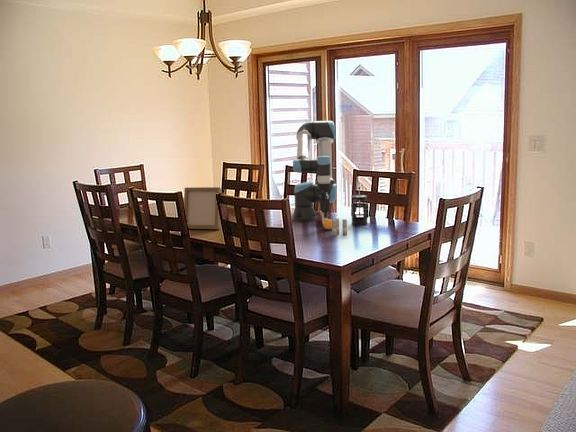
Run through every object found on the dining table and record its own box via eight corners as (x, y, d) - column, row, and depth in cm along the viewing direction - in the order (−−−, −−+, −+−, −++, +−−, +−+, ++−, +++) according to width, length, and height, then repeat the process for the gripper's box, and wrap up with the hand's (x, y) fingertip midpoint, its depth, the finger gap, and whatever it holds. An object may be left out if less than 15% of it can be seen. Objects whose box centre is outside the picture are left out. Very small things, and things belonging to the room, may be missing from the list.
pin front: (334, 233, 309) (333, 218, 307) (338, 233, 310) (337, 218, 308) (335, 234, 307) (335, 219, 305) (339, 234, 307) (339, 218, 306)
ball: (321, 226, 323) (322, 217, 320) (330, 225, 325) (332, 216, 321) (324, 232, 318) (325, 223, 315) (334, 230, 320) (335, 222, 317)
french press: (358, 226, 326) (357, 187, 322) (347, 224, 334) (347, 186, 330) (372, 223, 333) (372, 185, 329) (362, 221, 340) (361, 184, 336)
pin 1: (331, 235, 304) (331, 220, 303) (335, 235, 305) (335, 219, 303) (333, 236, 302) (333, 221, 300) (337, 235, 303) (337, 220, 301)
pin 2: (341, 234, 306) (341, 219, 304) (346, 234, 307) (345, 218, 305) (343, 235, 304) (343, 220, 302) (347, 234, 304) (347, 219, 303)
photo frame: (217, 230, 327) (215, 188, 323) (183, 230, 332) (180, 188, 328) (226, 225, 342) (224, 185, 337) (193, 225, 346) (190, 185, 342)
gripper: (314, 182, 325) (315, 222, 329) (321, 183, 313) (322, 225, 316) (326, 181, 327) (327, 221, 331) (334, 183, 315) (334, 224, 318)
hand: (325, 223), depth 323 cm, fingers closed
